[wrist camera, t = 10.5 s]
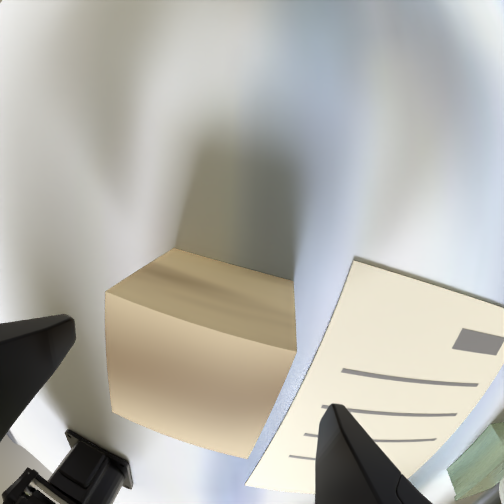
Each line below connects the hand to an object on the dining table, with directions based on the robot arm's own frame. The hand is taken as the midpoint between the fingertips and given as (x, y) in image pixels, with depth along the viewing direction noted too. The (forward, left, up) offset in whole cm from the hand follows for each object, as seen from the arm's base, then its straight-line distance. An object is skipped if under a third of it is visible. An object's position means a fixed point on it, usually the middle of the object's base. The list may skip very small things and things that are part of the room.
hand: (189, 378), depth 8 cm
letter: (-5, -11, -4) cm, 13 cm away
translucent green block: (-8, -25, -4) cm, 27 cm away
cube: (0, 0, -4) cm, 4 cm away
